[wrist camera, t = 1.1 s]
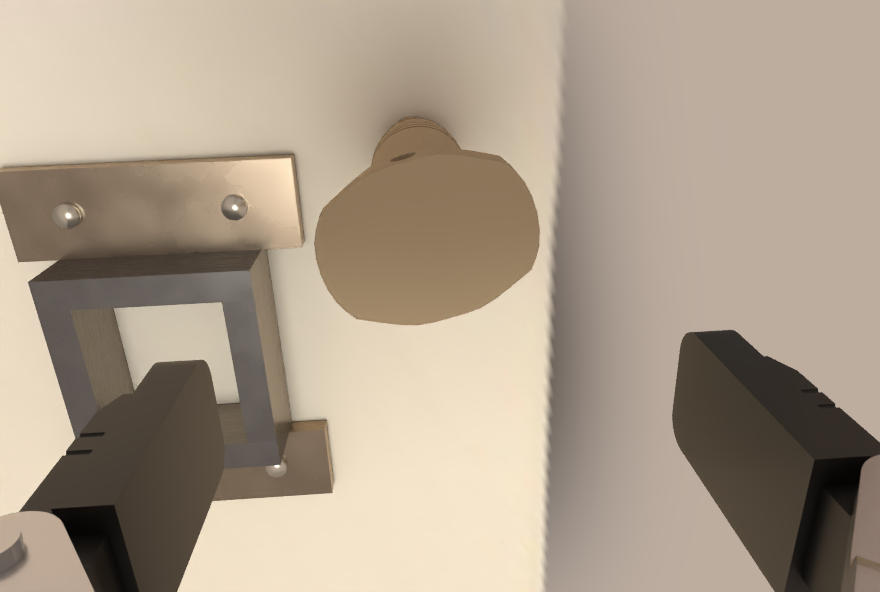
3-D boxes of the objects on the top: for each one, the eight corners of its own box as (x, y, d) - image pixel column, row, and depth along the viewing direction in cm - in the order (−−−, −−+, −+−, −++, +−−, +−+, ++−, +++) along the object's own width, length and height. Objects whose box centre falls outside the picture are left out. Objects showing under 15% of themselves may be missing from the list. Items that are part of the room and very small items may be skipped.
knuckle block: (2, 167, 32) (-50, 186, 28) (293, 154, 32) (280, 171, 28) (101, 497, 39) (70, 546, 36) (333, 481, 40) (327, 528, 36)
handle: (489, 176, 33) (554, 288, 19) (368, 211, 33) (348, 346, 20) (465, 80, 31) (517, 129, 17) (337, 119, 32) (290, 196, 18)
